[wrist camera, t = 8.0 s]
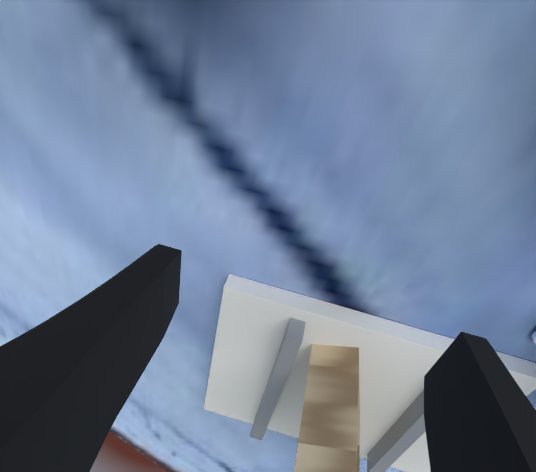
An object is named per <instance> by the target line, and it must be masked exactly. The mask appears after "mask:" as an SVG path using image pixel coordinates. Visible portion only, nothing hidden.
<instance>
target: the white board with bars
mask: <svg viewBox="0 0 536 472" xmlns="http://www.w3.org/2000/svg"><path fill="white" fill-rule="evenodd" d="M454 340H455V339H452V338H449V337H445V336H442V335H438V334H435V333H431V332H428V331H425V330H421V329H418V328H414V327H411V326H407V325H404V324H401V323H397V322H394V321H390V320H387V319H383V318H380V317H376V316H373V315H370V314H366V313H363V312H359V311H356V310H352V309H349V308H346V307H342V306H339V305H335V304H332V303H328V302H325V301H321V300H318V299H315V298H311V297H308V296H304V295H301V294H297V293H294V292H291V291H287V290H284V289H280V288H277V287H273V286H270V285H266V284H263V283H260V282H256V281H253V280H249V279H246V278H242V277H239V276H236V275H232V274H229V276H228V278H227V281H226V283H225V285H224V289H223V295H222V301H221V307H220V313H219V319H218V325H217V331H216V337H215V343H214V349H213V355H212V361H211V368H210V374H209V380H208V386H207V392H206V398H205V404H204V409H205V410H208V411H211V412H214V413H218V414H221V415H224V416H227V417H231V418H234V419H237V420H240V421H243V422H247V423H250V424H253V427H252V431H251V435H250V437H253V438H256V439H259V440H262V438H263V436H264V433H265V431H266V429H269V430H272V431H276V432H279V433H282V434H285V435H289V436H292V437H295V438H298V439H299V432H300V425H301V418H302V411H303V404H304V397H305V390H306V383H307V376H308V369H309V362H310V355H311V348H312V344H319V345H332V346H345V347H358V348H359V397H360V458H363V459H366V460H367V472H385V471H386V470H387V469H388V468H389V467H392V468H395V469H398V470H401V471H405V472H431V469H430V462H429V454H428V446H427V438H426V430H425V421H424V376H425V375H426V373H427V372H428V371H429V370H430V369H431V367H432V366H433V365H434V364H435V363H436V361H437V360H438V359H439V358H440V357H441V355H442V354H443V353H444V352H445V351H446V350H447V348H448V347H449V346H450V345H451V344H452V342H453V341H454ZM495 352H496V353H497V355H498V356H499V357H500V359H501V360H502V362H503V363H504V365H505V366H506V368H507V369H508V371H509V372H510V374H511V375H512V377H513V378H514V380H515V381H516V383H517V384H518V385H519V387H520V388H521V390H522V391H523V393H524V394H525V396H528V395H529V394H530V393H531V392H533V391H534V390H535V389H536V363H535V362H531V361H528V360H524V359H521V358H517V357H514V356H511V355H507V354H504V353H500V352H497V351H495Z"/></svg>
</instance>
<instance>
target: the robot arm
mask: <svg viewBox="0 0 536 472" xmlns="http://www.w3.org/2000/svg"><path fill="white" fill-rule="evenodd" d="M180 269H181V250H178V249H174V248H171V247H167V246H164V245H160V244H158V245H156V246H154V247H153V248H152V249H150V250H149V251H148V252H146V253H145V254H144V255H142V256H141V257H140V258H138V259H137V260H136V261H134V262H133V263H132V264H130V265H129V266H128V267H126V268H125V269H123V270H122V271H121V272H119V273H118V274H116V275H115V276H114V277H112V278H111V279H109V280H108V281H107V282H105V283H104V284H102V285H101V286H99V287H98V288H96V289H95V290H93V291H92V292H90V293H89V294H88V295H86V296H85V297H83V298H82V299H80V300H79V301H77V302H75V303H74V304H72V305H71V306H69V307H67V308H66V309H64V310H62V311H61V312H59V313H58V314H56V315H54V316H53V317H51V318H50V319H48V320H46V321H45V322H43V323H41V324H40V325H38V326H36V327H35V328H33V329H31V330H29V331H28V332H26V333H24V334H22V335H20V336H19V337H17V338H15V339H13V340H11V341H9V342H8V343H6V344H4V345H2V346H0V472H89V471H90V469H91V467H92V465H93V463H94V461H95V459H96V457H97V455H98V452H99V450H100V448H101V446H102V444H103V442H104V440H105V438H106V436H107V434H108V432H109V430H110V428H111V426H112V425H113V423H114V421H115V419H116V417H117V415H118V414H119V412H120V410H121V409H122V407H123V405H124V404H125V402H126V400H127V398H128V397H129V395H130V393H131V392H132V390H133V388H134V387H135V385H136V383H137V382H138V380H139V378H140V376H141V375H142V373H143V371H144V370H145V368H146V366H147V365H148V363H149V361H150V360H151V358H152V356H153V354H154V353H155V351H156V349H157V348H158V346H159V344H160V342H161V341H162V339H163V337H164V335H165V333H166V330H167V328H168V326H169V324H170V322H171V319H172V317H173V315H174V312H175V310H176V308H177V306H178V303H179V286H180ZM532 340H533V342H534V343H535V344H536V331H535V332H534V333H533V334H532ZM424 421H425V430H426V438H427V446H428V454H429V462H430V469H431V472H536V410H535V409H534V408H533V406H532V405H531V403H530V402H529V400H528V399H527V397H526V396H525V394H524V393H523V391H522V390H521V388H520V387H519V385H518V384H517V383H516V381H515V380H514V378H513V377H512V375H511V374H510V372H509V371H508V369H507V368H506V366H505V365H504V363H503V362H502V360H501V359H500V357H499V356H498V355H497V353H496V352H495V350H494V349H493V347H492V346H491V345H490V343H489V342H488V341H487V339H485V338H482V337H478V336H475V335H471V334H468V333H464V332H461V333H460V334H459V335H458V336H457V338H456V339H455V340H454V341H453V342H452V344H451V345H450V346H449V347H448V348H447V350H446V351H445V352H444V353H443V354H442V355H441V357H440V358H439V359H438V360H437V361H436V363H435V364H434V365H433V366H432V367H431V369H430V370H429V371H428V372H427V373H426V375H425V376H424Z"/></svg>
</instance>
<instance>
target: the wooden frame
mask: <svg viewBox="0 0 536 472" xmlns="http://www.w3.org/2000/svg"><path fill="white" fill-rule="evenodd" d="M359 461H360V397H359V348H358V347H345V346H332V345H319V344H312V348H311V355H310V362H309V369H308V376H307V383H306V390H305V397H304V404H303V411H302V418H301V425H300V432H299V439H298V446H297V453H296V460H295V467H294V472H359Z"/></svg>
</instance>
